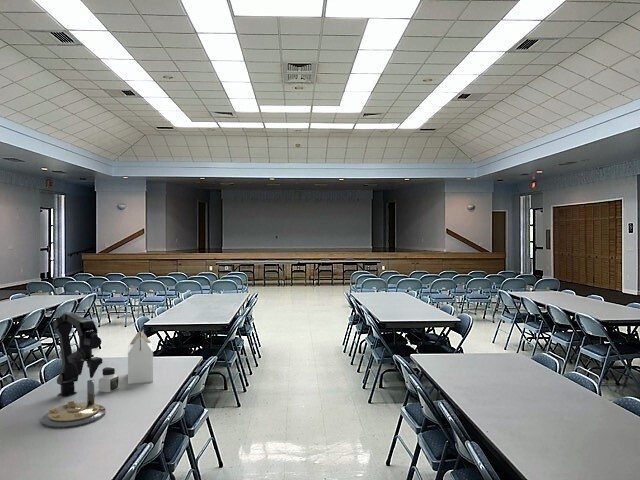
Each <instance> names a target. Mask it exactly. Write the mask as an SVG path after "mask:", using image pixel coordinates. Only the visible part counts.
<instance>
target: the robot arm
mask: <svg viewBox="0 0 640 480" xmlns="http://www.w3.org/2000/svg"><path fill="white" fill-rule="evenodd" d="M95 323H96V322H95V321H94V320H93V319H90V318H83V317H81V316H80V315H77V314H75V312H73V311H69V312H64V313H62V315H61V316H59V317H57V318H55V320H54V322H53V323H52V326H53V327H52V328H53V329H54V333H55V334H56V335H57V336H58V340H59V347H60V355H61V361H62V365H61V367H60V369H59V374H58V376H57V378H56V384H58V385H60V392H59V393H57V395H58V396H61V397H69V396H72V395H75V394H77V393H78V391H75V390H76V388H75V387H76V385H75V383H76V382H78V381H79V376H81V375H82V372H83V369H84V363H85V362H86V364H87V365H86V367H87V368H88V370H89V378H90V379H93V377H94V376H95V373H96V372H97V369H98V368H99V366H100V365H102V364H103V358H102V357H100V356H95V355H94V354H93V349H94V350H95V349H97V348H99V347H101V346H102V345H101V344H102V339H101V338H100V337H99V336H98V334H99V333H98V327H97V325H96V324H95ZM73 327H75V330H77V332H78V333H77V336H79V337H78V343H79V344H78V347H76V351H75V352H73V353H72V346H71V338H70V334H71V332H72V330H73Z"/></svg>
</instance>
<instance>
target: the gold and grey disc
mask: <svg viewBox="0 0 640 480" xmlns="http://www.w3.org/2000/svg"><path fill="white" fill-rule="evenodd" d="M98 405H99V406H100V411H99V412H98V413H97V414H96V415H94V416H92V417H90V418H87V419H83V420H79V421H73V422H53V421H51V420H49V419H48V413H49V411H48V412H46V413H45V414H44V415H43V416H42V417H41V424H42V426H44V427H46V428H51V429H68V428H76V427H80V426H84V425H89V424H91V423H95V422H97V421H100V420H101V419H102V418H103V417H105V415H106V407H105V406H104V405H101V404H98Z"/></svg>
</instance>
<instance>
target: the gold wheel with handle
mask: <svg viewBox="0 0 640 480" xmlns="http://www.w3.org/2000/svg"><path fill="white" fill-rule="evenodd" d="M86 383H87V384H86V385H87V387H86V390H87V391H86V393H87V400H86V402H85V401H84V402H75V401H74V400H73V401H67V404H63V405H60V406H57V407H51V408H50V409H49V411H48V412H49V413H48V412H47V413H48V419H49V420H51V421H53V422H73V421H79V420H83V419H87V418H90V417H92V416H94V415H96V414H97V413H98V412H99V411H100V406H99V405H100V404H98V403H96V402H95V380H94V379H89V380H87V381H86Z"/></svg>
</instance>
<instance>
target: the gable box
mask: <svg viewBox="0 0 640 480" xmlns="http://www.w3.org/2000/svg"><path fill="white" fill-rule="evenodd" d="M144 332H145V330H144V328H143V329H142V327H139V331H138V332H137V333H136V334H135V336H134V337H133V339H132V340H131V342H130V343H129V344H128V348H127V385H134V384H145V383H153V382H154V349H153V343H152V342H151V341H150V339H149V337H147V334H145V333H144Z"/></svg>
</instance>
